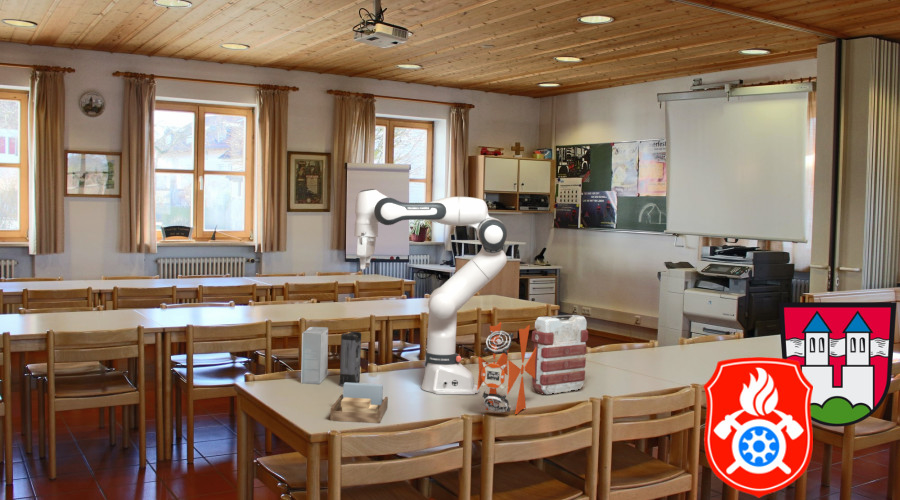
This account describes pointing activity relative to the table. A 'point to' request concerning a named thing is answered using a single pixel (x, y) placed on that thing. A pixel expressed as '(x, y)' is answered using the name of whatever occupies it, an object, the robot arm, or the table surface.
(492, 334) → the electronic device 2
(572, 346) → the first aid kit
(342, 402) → the offcut stack
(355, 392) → the blue-grey flat box
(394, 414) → the table surface
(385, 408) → the wooden tray
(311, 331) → the hard drive box
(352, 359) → the electronic device
